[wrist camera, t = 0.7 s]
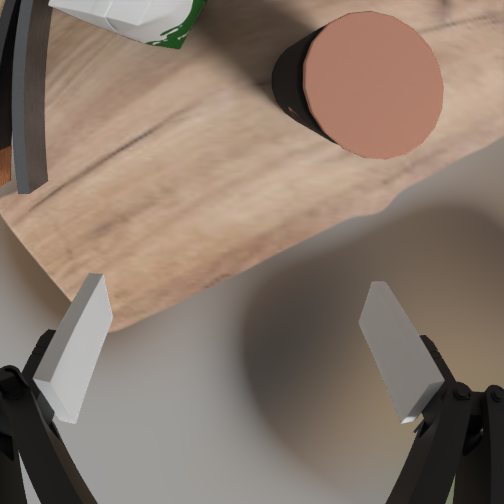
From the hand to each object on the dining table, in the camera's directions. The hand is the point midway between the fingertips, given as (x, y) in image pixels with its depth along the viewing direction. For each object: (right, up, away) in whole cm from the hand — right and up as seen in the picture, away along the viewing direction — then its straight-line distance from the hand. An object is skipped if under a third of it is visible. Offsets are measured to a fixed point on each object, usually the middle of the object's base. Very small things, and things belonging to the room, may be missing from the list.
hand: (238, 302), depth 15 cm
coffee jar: (+8, +22, +18) cm, 30 cm away
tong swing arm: (-32, +24, +14) cm, 42 cm away
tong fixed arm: (-27, +26, +13) cm, 40 cm away
